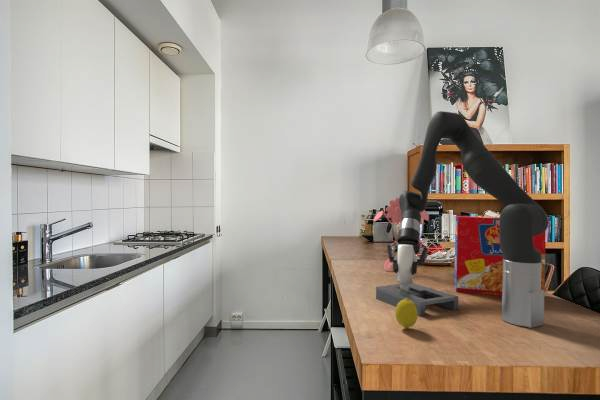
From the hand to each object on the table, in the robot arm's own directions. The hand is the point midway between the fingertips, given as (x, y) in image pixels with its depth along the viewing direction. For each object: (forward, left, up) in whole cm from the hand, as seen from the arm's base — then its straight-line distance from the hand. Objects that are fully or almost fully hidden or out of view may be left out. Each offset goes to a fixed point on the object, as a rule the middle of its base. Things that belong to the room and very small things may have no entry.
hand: (404, 272), depth 119 cm
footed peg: (+1, -1, -9) cm, 9 cm away
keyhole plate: (-4, -1, -10) cm, 10 cm away
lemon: (-20, +18, -10) cm, 28 cm away
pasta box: (-6, -40, -10) cm, 41 cm away
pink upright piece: (+36, -30, -10) cm, 48 cm away
